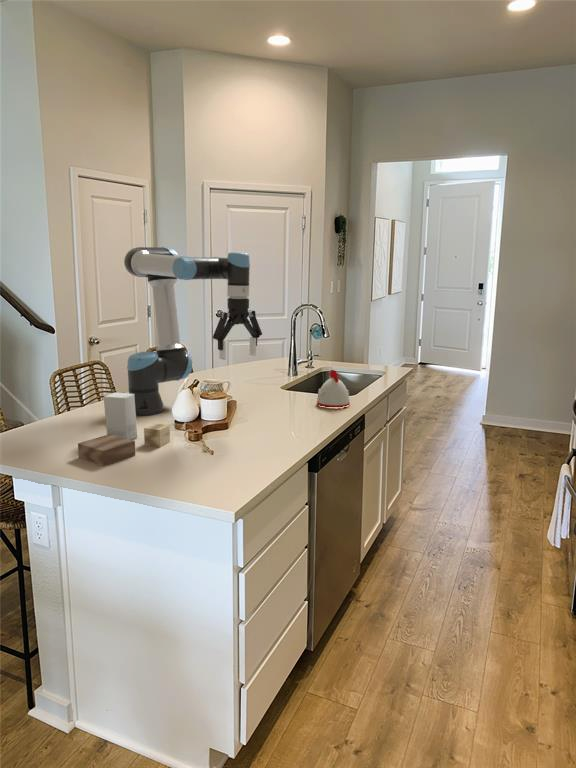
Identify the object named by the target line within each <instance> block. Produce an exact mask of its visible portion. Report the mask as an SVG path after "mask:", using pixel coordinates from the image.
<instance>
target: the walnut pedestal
mask: <svg viewBox="0 0 576 768" xmlns="http://www.w3.org/2000/svg"><path fill="white" fill-rule="evenodd" d="M77 452H78V458H79V459H82V460H85V461H88V462H91V463H94V464H97V465H100V466H103V467H105V466H108V465H111V464H115V463H117V462H120V461H122V460H123V461H124V460H126V459H128V458H129V459H130V458H133V457H135V456H136V440H129V439H125V438H122V437H118V436H114V435H111V434H109V435H107V434H105V435H103V436H98V437H94V438H91V439H89V440H85V441H82V442H79V443H77Z"/></svg>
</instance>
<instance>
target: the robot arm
mask: <svg viewBox="0 0 576 768" xmlns="http://www.w3.org/2000/svg"><path fill="white" fill-rule="evenodd" d="M123 259H124V261H123V263H124V267H125V270H126V271H127V272H128V273H129V274H131V275H132V276H135V277H139V278H147V283H148V284H149V285H150V286H151V287H152V295H153V304H154V311H155V319H156V320H155V321H156V329H157V337H158V347H156V349H155V351H153V350H151V351H150V350H147V351H146V350H145V351H139V352H135V353H133V354H131V355H130V356H129V357H128V358H127V366H126V369H127V381H128V385H127V386H128V394H134V397H135V411H136V416H151V415H153V416H154V415H157V414H160V413H163V412H164V410H165V407H164V405H165V404H164V402H163V401H162V397H161V393H160V390H159V389H160V388H159V384H161V383H166V382H167V383H169V382H173V381H176V382H177V381H180V380H184V379H187V378H188V377H189V376H190V374H191V371H192V369H193V358H192V356H191V354H190V353H189V351H186V349H185V346H184V345H183V344H182V343H181V338H180V329H179V328H180V327H179V319H178V310H177V309H178V308H177V303H176V293H175V283H176V282H177V281H178V280H184V281H190V280H226V281H227V297H228V298H227V309H228V312H225V311H221V312H220V317H219V320H218V323H217V326H216V327H215V329H214V330H215V331H214V334H213V336H212V338H213V340H216V341H217V349H218V351H219V353H218V354H219V355H218V356H219V357H218V358H219V359H220V360H223V361H225V360H226V358H227V355H226V354H227V349H226V348H227V346H226V345H227V342H226V340H225V339H226V337H227V336H228V335H229V333H230V331H231V330H232V329H233V327H234V326H235V325H243V326H244V327H245V329H246V331H247V332H248V333H249V335H250V336H251V337H249V356H254V357H256V356H257V347H258V339H259V338H260V336H262V335H263V332H262V329H261V327H260V325H259V324H260V323H259V322H258V319H257V316H256V311H255V310H252V309H251V310H249V309H250V298H249V297H250V267H251V265H250V255H249V254H248V253H247V252H228V253H227V257H219V256H213V257H203V256H202V257H197V256H195V257H192V256H180V255H179V254H178V253H177V252H176V250H174V249H173V248H169V247H162V246H161V247H160V246H159V247H158V246H156V247H150V246H149V247H146V246H145V247H144V246H142V247H141V246H138V247H133V248H132V249H130V250H129V251H128V252H127V253H126V254H125V256H124V258H123ZM248 318H249V319H248Z"/></svg>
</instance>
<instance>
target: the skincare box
mask: <svg viewBox="0 0 576 768" xmlns="http://www.w3.org/2000/svg"><path fill="white" fill-rule="evenodd" d="M103 404H104V415H105V416H104V417H105V429H106V435H109V434H111V435H114V436H118V437H122V438H125V439H129V440H132V441H134V440H135V439H137V438H138V428H137V425H138V424H137V415H136V411H135V397H134V394H129V392H128V393H125V392H111V393H109V394H106V395H104V396H103Z"/></svg>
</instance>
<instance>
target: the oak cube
mask: <svg viewBox="0 0 576 768" xmlns="http://www.w3.org/2000/svg"><path fill="white" fill-rule="evenodd" d="M170 429H171V428H170V425H169V424H161V423H154V422H153V423H151V424H150V425H147V426H145V427H143V438H144V440H143V442H144V446H148V447H153V448H162V447H164V446H166V445H167V444H169V443H171V434H170V433H171V432H170Z"/></svg>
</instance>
